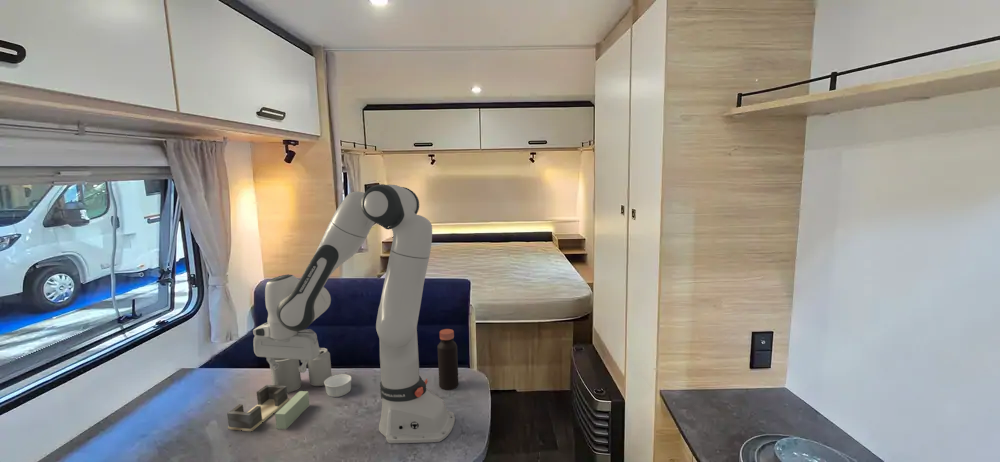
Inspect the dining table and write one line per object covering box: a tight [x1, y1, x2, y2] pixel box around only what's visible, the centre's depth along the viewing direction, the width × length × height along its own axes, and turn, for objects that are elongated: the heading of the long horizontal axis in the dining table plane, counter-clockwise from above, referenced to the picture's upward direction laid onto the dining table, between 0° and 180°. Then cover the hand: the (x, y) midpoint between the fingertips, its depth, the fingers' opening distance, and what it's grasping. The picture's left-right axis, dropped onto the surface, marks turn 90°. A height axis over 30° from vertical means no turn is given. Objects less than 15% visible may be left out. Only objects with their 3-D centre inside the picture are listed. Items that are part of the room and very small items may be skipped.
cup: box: [269, 358, 302, 394], centre depth 152 cm, size 9×9×12 cm
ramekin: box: [323, 373, 352, 398], centre depth 150 cm, size 9×9×4 cm
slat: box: [274, 390, 310, 430], centre depth 135 cm, size 3×13×5 cm, turn 174°
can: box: [307, 347, 333, 387], centre depth 156 cm, size 8×8×12 cm
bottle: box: [437, 328, 459, 391], centre depth 150 cm, size 7×7×20 cm
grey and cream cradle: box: [226, 384, 290, 432], centre depth 136 cm, size 8×17×5 cm, turn 170°
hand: (288, 370), depth 133 cm, fingers open, 8 cm apart
